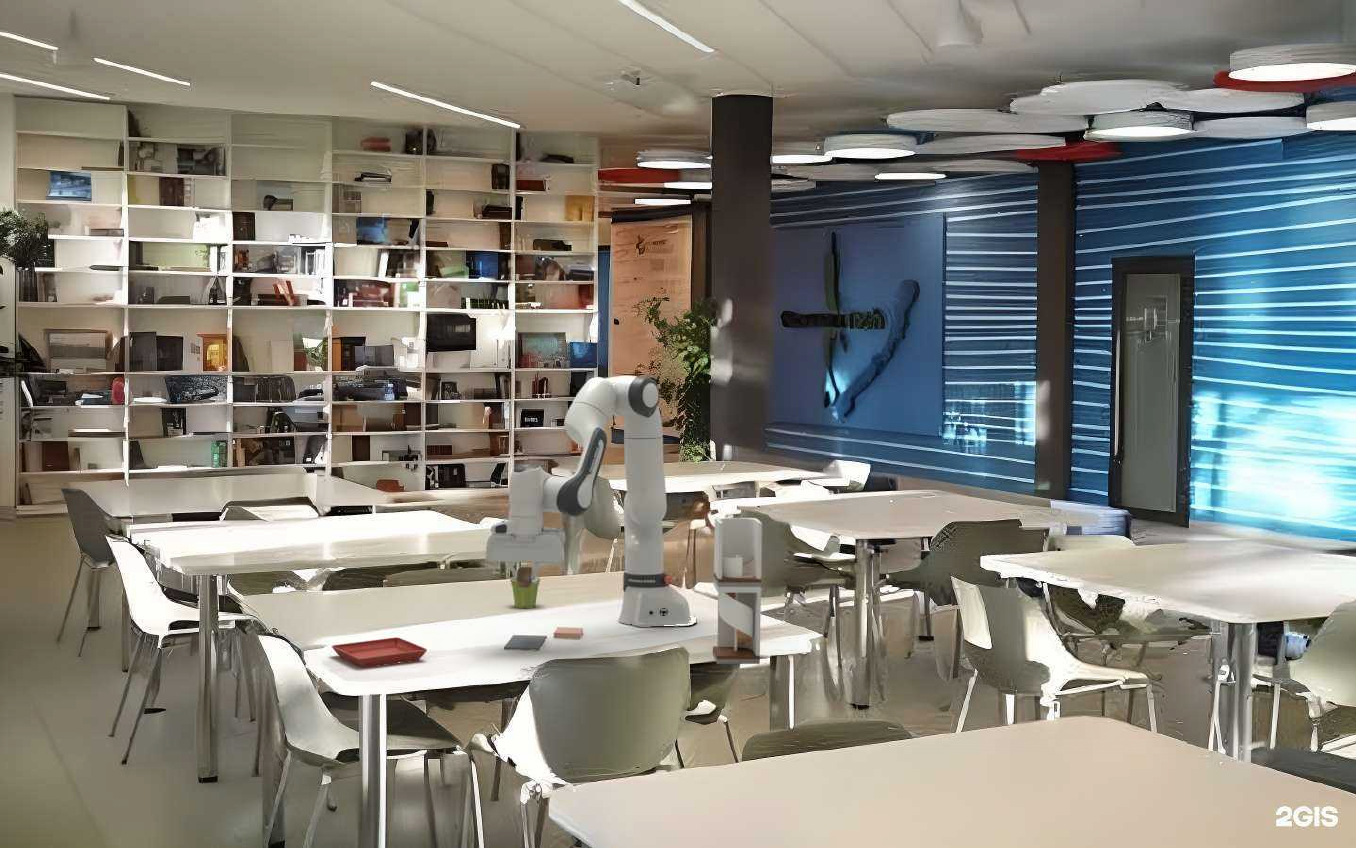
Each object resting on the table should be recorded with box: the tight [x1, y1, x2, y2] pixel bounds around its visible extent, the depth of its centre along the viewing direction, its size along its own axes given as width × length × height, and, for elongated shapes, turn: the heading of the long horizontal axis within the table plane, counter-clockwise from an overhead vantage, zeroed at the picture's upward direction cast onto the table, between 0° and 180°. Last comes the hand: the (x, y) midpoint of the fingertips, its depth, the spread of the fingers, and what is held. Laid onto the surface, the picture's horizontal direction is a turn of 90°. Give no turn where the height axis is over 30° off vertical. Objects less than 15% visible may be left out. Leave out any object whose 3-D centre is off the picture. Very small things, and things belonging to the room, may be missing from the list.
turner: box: [516, 566, 539, 588], centre depth 360 cm, size 5×13×4 cm, turn 178°
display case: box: [712, 517, 763, 665], centre depth 345 cm, size 11×11×35 cm
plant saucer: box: [331, 637, 428, 668], centre depth 341 cm, size 18×18×3 cm
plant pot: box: [509, 576, 542, 609], centre depth 416 cm, size 9×9×9 cm
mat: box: [503, 634, 548, 651], centre depth 361 cm, size 9×16×1 cm, turn 178°
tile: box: [553, 626, 584, 640], centre depth 373 cm, size 7×2×8 cm
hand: (524, 579), depth 357 cm, fingers closed on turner, 3 cm apart
